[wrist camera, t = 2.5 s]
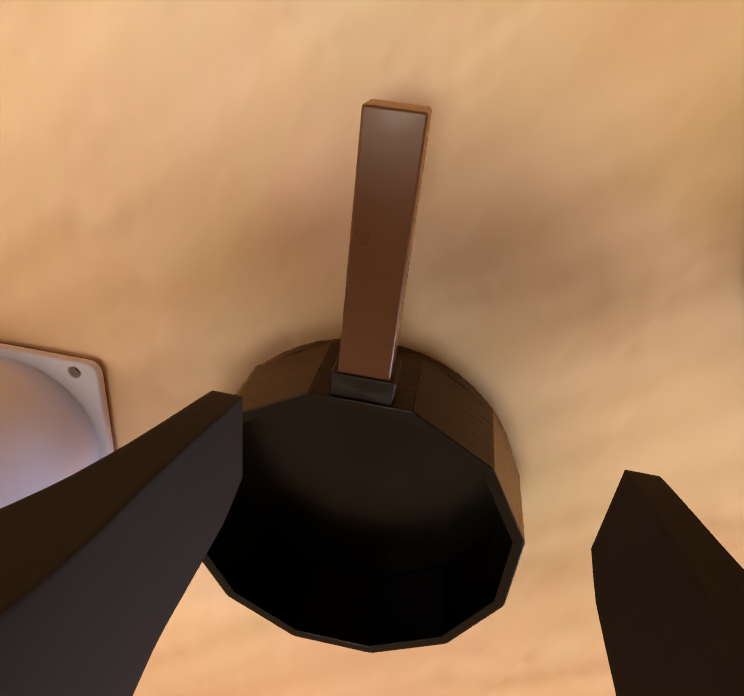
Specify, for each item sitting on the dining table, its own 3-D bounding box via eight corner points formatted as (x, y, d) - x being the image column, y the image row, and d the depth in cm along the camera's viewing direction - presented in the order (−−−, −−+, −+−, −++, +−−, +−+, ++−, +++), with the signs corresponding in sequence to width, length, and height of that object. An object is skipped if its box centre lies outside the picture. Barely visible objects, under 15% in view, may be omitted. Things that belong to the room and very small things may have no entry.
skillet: (480, 592, 26) (479, 678, 23) (227, 539, 28) (190, 612, 24) (622, 120, 16) (659, 145, 13) (215, 66, 18) (149, 75, 14)
